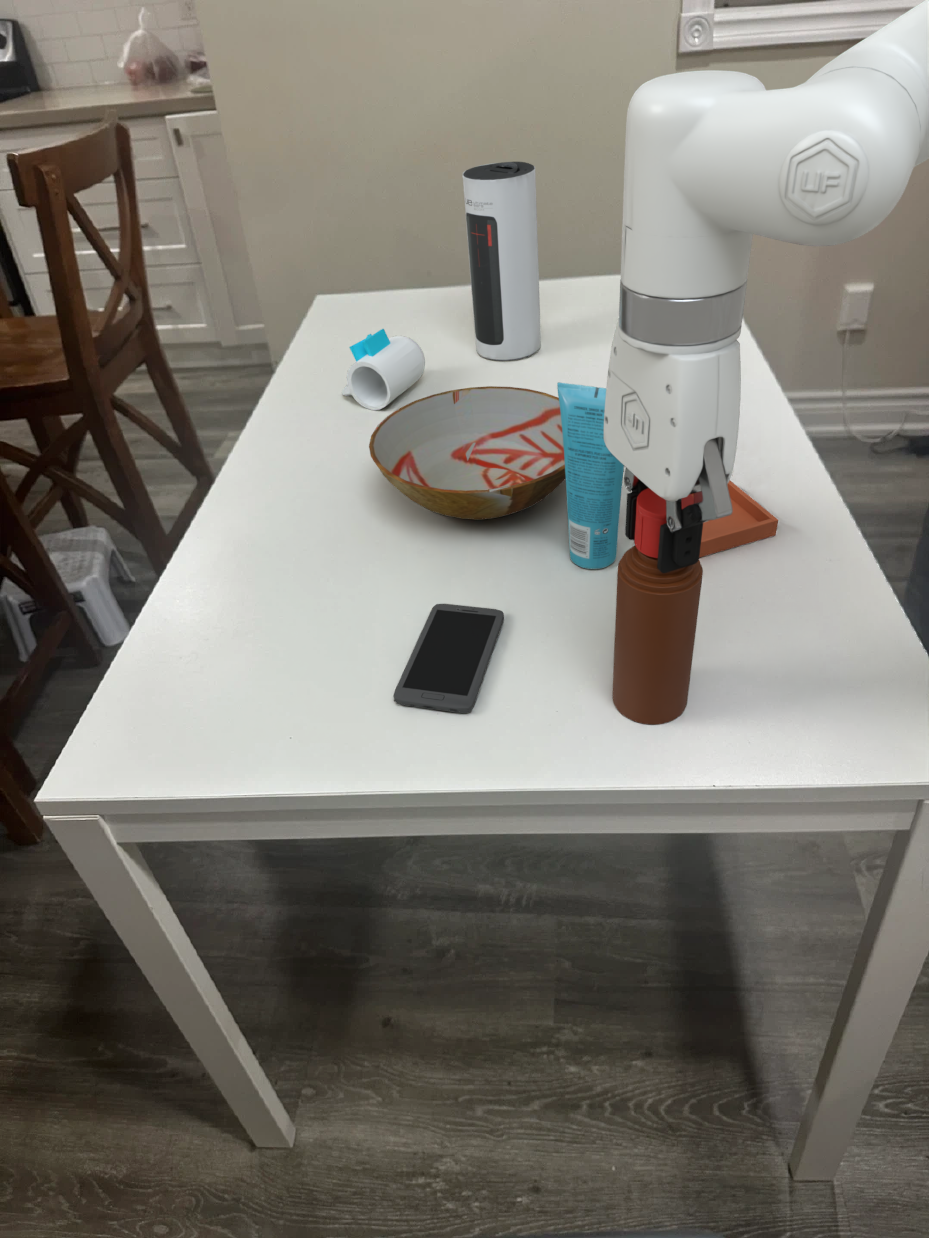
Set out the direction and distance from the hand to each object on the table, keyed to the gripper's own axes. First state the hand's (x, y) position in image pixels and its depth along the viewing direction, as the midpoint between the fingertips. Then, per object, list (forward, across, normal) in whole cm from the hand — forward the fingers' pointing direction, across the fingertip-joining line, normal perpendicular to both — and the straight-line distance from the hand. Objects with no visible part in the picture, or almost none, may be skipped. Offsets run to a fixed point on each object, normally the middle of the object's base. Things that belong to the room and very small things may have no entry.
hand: (661, 548), depth 65 cm
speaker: (+16, -77, +19) cm, 81 cm away
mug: (+16, -72, -3) cm, 74 cm away
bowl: (+16, -38, 0) cm, 41 cm away
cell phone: (+16, -12, -14) cm, 24 cm away
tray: (+16, -21, +18) cm, 32 cm away
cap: (0, 0, 0) cm, 0 cm away
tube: (+16, -21, +5) cm, 27 cm away
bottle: (+16, 0, 0) cm, 16 cm away
